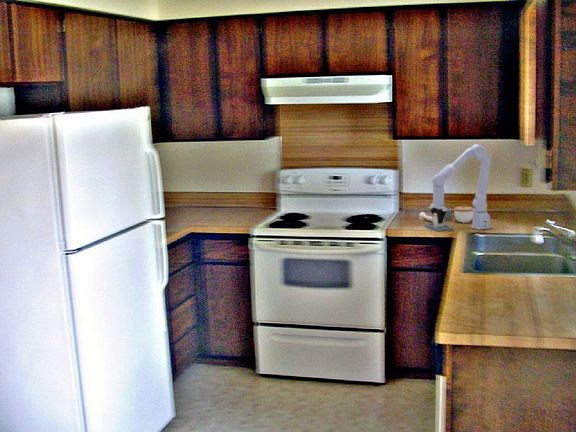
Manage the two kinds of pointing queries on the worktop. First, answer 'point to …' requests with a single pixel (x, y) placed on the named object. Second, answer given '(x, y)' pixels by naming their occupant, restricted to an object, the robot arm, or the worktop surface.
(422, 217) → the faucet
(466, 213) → the lidded jar
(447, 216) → the block
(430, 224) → the tray
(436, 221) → the cartridge
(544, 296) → the worktop surface
